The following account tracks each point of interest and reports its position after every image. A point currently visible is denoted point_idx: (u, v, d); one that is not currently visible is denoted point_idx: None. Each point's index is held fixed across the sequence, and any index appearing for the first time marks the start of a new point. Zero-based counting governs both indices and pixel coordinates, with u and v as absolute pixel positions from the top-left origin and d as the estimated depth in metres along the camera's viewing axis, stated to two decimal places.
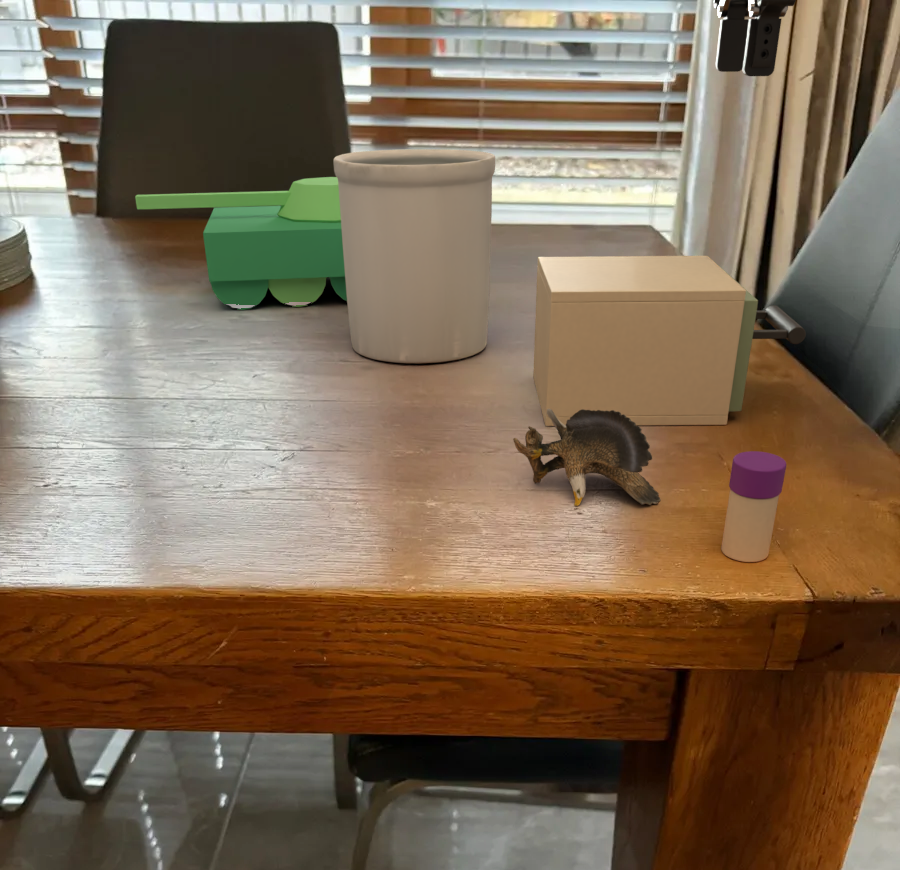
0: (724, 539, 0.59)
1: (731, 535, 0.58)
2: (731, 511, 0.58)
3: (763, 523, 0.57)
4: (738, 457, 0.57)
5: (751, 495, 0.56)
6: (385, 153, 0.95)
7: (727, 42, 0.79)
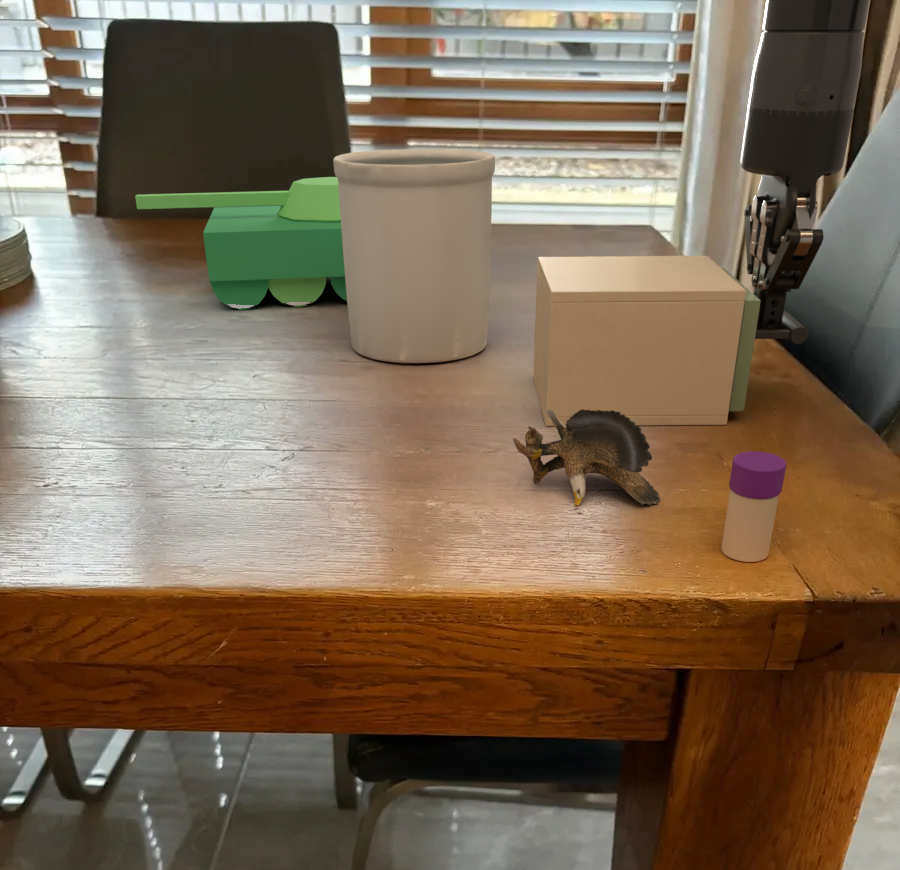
0: (724, 539, 0.59)
1: (731, 535, 0.58)
2: (731, 511, 0.58)
3: (763, 523, 0.57)
4: (738, 457, 0.57)
5: (751, 495, 0.56)
6: (385, 153, 0.95)
7: None
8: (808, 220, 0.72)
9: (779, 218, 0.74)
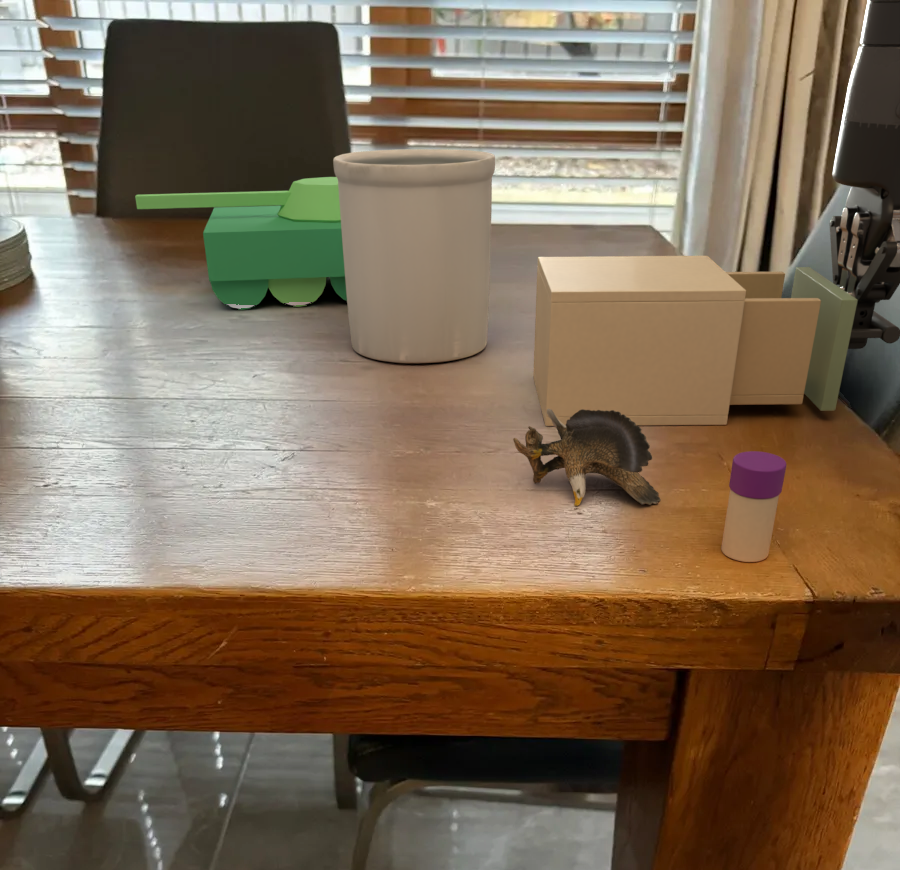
0: (724, 539, 0.59)
1: (731, 535, 0.58)
2: (731, 511, 0.58)
3: (763, 523, 0.57)
4: (738, 457, 0.57)
5: (751, 495, 0.56)
6: (385, 153, 0.95)
7: None
8: None
9: (873, 230, 0.74)
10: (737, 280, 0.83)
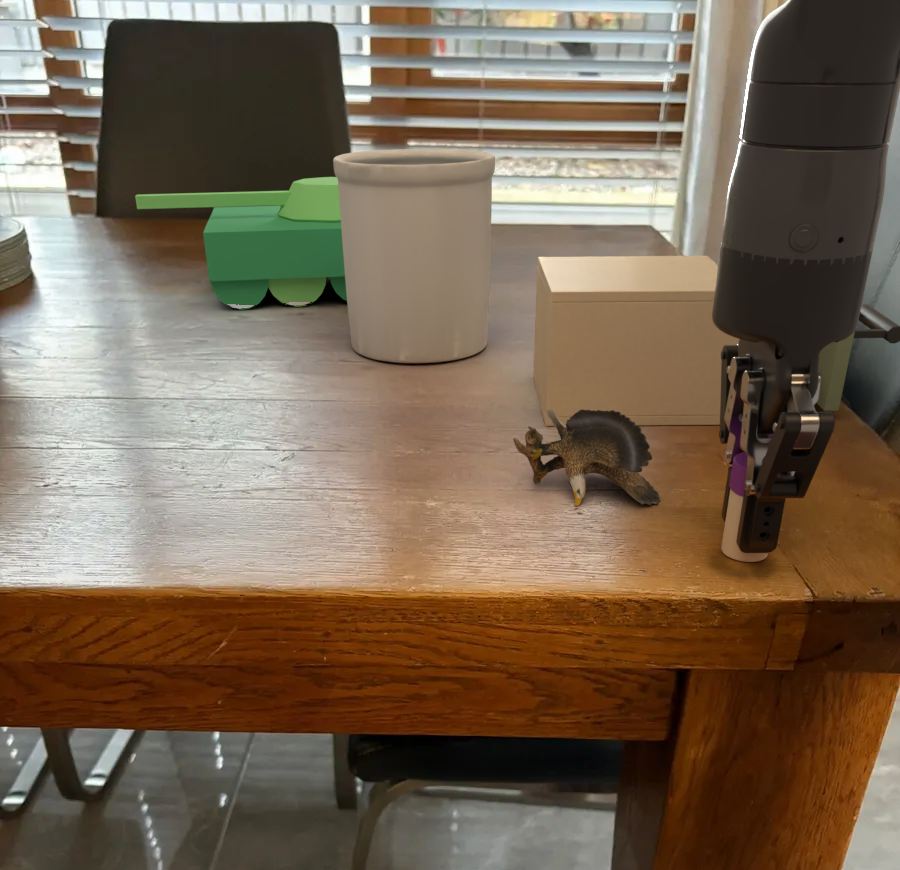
0: (724, 539, 0.59)
1: (731, 535, 0.58)
2: (731, 511, 0.58)
3: None
4: (738, 457, 0.57)
5: None
6: (385, 153, 0.95)
7: None
8: (810, 400, 0.50)
9: (767, 398, 0.52)
10: None
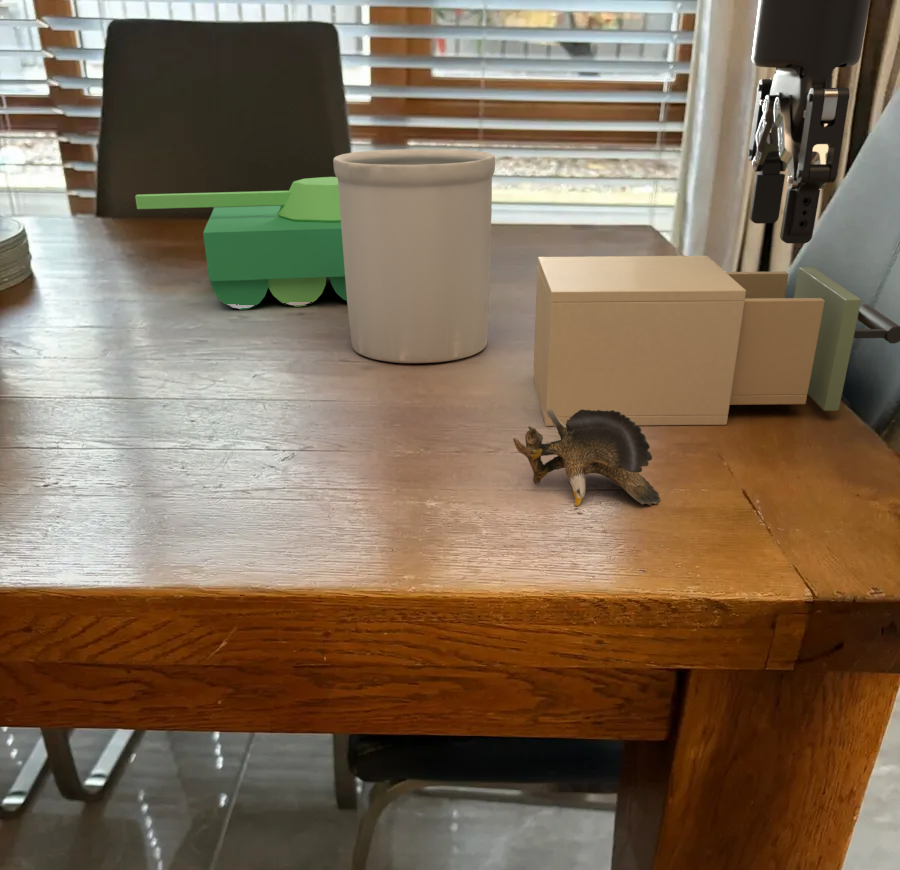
0: None
1: None
2: None
3: None
4: None
5: None
6: (385, 153, 0.95)
7: (762, 196, 0.79)
8: None
9: (793, 114, 0.70)
10: (740, 280, 0.83)
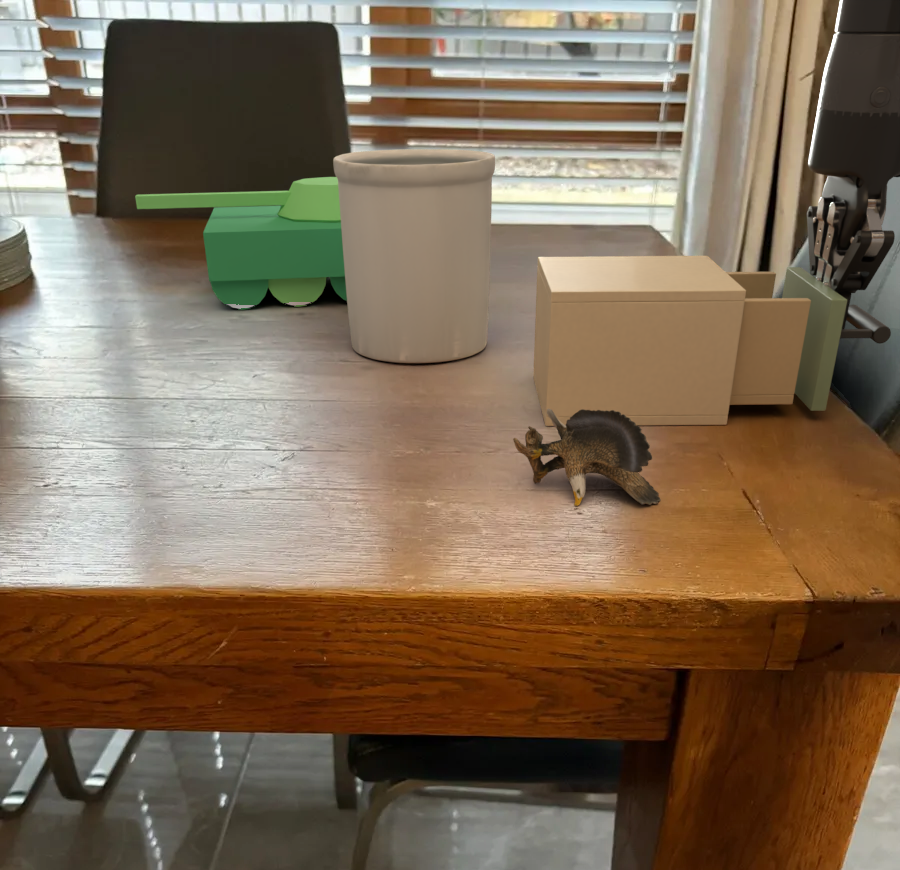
0: None
1: None
2: None
3: None
4: None
5: None
6: (385, 153, 0.95)
7: None
8: (879, 221, 0.72)
9: (848, 219, 0.74)
10: None
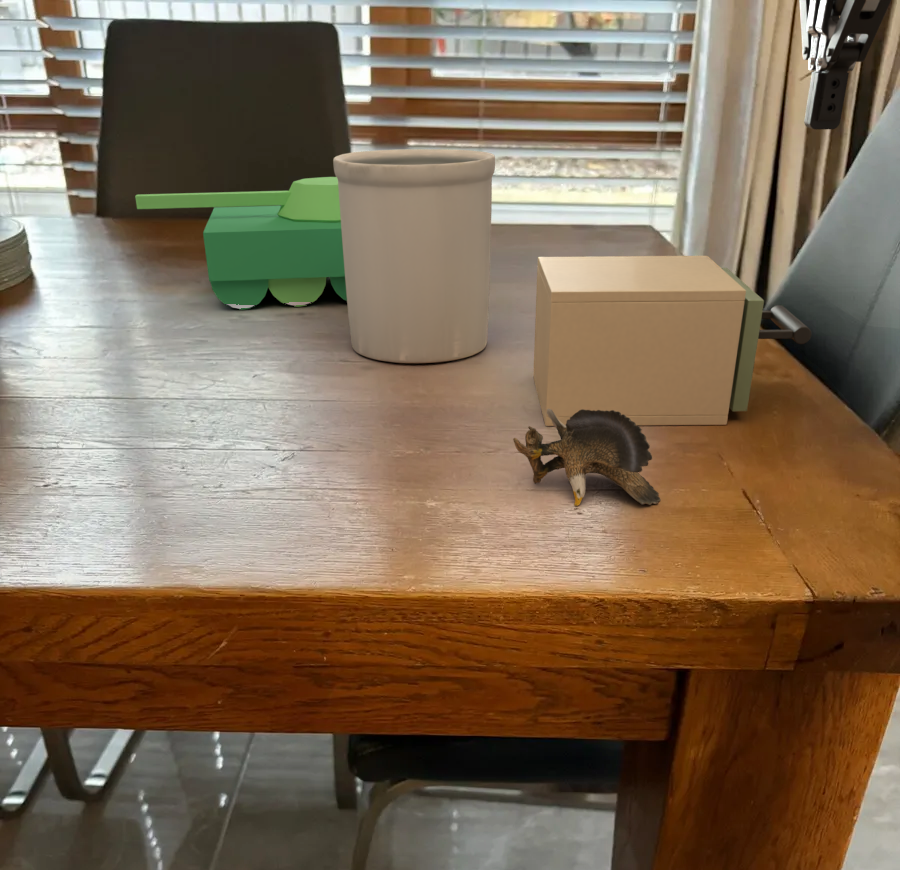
0: None
1: None
2: None
3: None
4: None
5: None
6: (385, 153, 0.95)
7: None
8: None
9: None
10: None
